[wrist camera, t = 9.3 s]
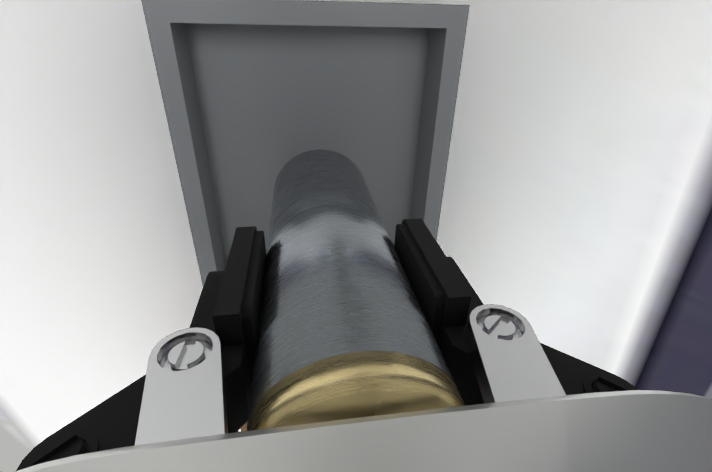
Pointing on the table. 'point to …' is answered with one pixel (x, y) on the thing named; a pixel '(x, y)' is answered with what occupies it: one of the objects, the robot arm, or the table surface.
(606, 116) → the table surface
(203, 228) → the tray
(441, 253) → the robot arm
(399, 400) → the steel pin
